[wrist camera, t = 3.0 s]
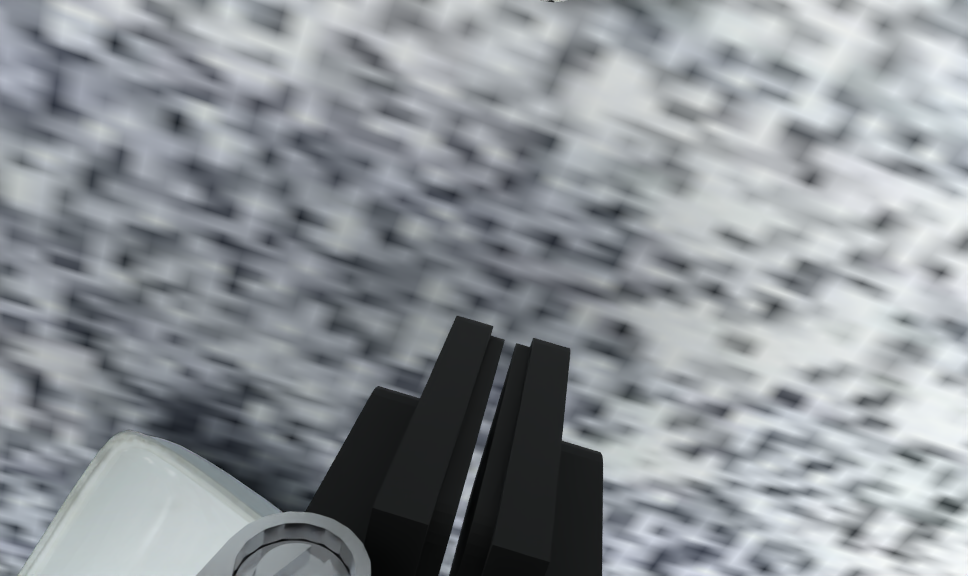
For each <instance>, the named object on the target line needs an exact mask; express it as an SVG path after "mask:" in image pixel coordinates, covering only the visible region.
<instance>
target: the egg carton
mask: <svg viewBox="0 0 968 576" xmlns="http://www.w3.org/2000/svg"><path fill="white" fill-rule="evenodd" d="M541 1H548V2H560V1H566V0H541Z"/></svg>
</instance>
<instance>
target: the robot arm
mask: <svg viewBox="0 0 968 576" xmlns="http://www.w3.org/2000/svg"><path fill="white" fill-rule="evenodd" d="M492 329H493V326H491V325H488V324H484V323H481V322H477V321H474V320H471V319H467V318H464V317H460V316H456V318H455V321H454V323H453V325H452V327H451V330H450V332H449V334H448V337H447V339H446V341H445V343H444V346H443V348H442V350H441V352H440V355H439V357H438V359H437V362H436V364H435V366H434V368H433V371H432V373H431V375H430V377H429V380H428V382H427V384H426V387H425V389H424V391H423V393H422V396H421V398H417V397H413V396H410V395H407V394H403V393H400V392H397V391H393V390H390V389H386V388H383V387H380V386H378V387H376V388H375V389H374V391H373V392H372V394H371V396H370V397H369V399H368V401H367V403H366V405H365V406H364V408H363V410H362V412H361V414H360V415H359V417H358V419H357V421H356V422H355V424H354V426H353V428H352V430H351V431H350V433H349V435H348V437H347V438H346V440H345V442H344V444H343V446H342V447H341V449H340V451H339V453H338V455H337V456H336V458H335V460H334V462H333V463H332V465H331V467H330V469H329V471H328V472H327V474H326V476H325V478H324V480H323V481H322V483H321V485H320V487H319V488H318V490H317V492H316V494H315V496H314V497H313V499H312V501H311V503H310V504H309V506H308V508H307V510H306V512H292V511H289V512H284V513H278V514H272V515H267V516H265V517H263V518H261V519H258V520H256V521H254V522H252V523H249V524H247V525H246V526H245V527H243V528H242V529H241V530H240V531H239V532H237V533H236V534H235V535H234V536H232V537H231V538H230V539H229V540H228V541H227V542H226V543H225V544H224V546H223V547H222V548H221V549H220V550H219V551H218V552H217V553H216V554H215V555H214V556H213V558H212V559H211V560H210V561H209V562H208V563H207V564H206V565H205V566H204V567H203V568H202V570H201V571H200V572H199V573H198V574H197V575H196V576H438V574H439V571H440V568H441V564H442V561H443V558H444V554H445V551H446V547H447V544H448V540H449V537H450V533H451V530H452V526H453V523H454V519H455V516H456V512H457V509H458V505H459V502H460V498H461V495H462V491H463V487H464V484H465V480H466V477H467V473H468V469H469V466H470V462H471V459H472V455H473V452H474V448H475V444H476V441H477V437H478V434H479V430H480V427H481V423H482V419H483V416H484V412H485V409H486V405H487V402H488V398H489V394H490V391H491V387H492V384H493V380H494V376H495V373H496V369H497V366H498V362H499V359H500V355H501V351H502V348H503V344H504V341H505V340H504V339H500V338H497V337H493V336H491V333H492ZM569 360H570V348H566V347H563V346H560V345H556V344H553V343H549V342H546V341H542V340H539V339H536V338H533V340H532V343H531V346H530V347H528V346H524V345H521V344H517V343H516V346H515V349H514V352H513V356H512V359H511V362H510V366H509V369H508V372H507V375H506V379H505V382H504V385H503V389H502V392H501V395H500V399H499V402H498V405H497V409H496V412H495V415H494V419H493V422H492V425H491V428H490V432H489V435H488V438H487V442H486V445H485V448H484V452H483V455H482V458H481V462H480V465H479V468H478V472H477V475H476V478H475V481H474V485H473V488H472V492H471V495H470V499H469V502H468V506H467V510H466V513H465V517H464V521H463V525H462V529H461V532H460V536H459V540H458V544H457V548H456V552H455V555H454V559H453V563H452V567H451V571H450V574H449V576H602V521H603V457H602V454H601V453H600V452H598V451H594V450H591V449H588V448H584V447H581V446H577V445H574V444H571V443H567V442H564V441H562V432H563V422H564V412H565V401H566V391H567V381H568V371H569Z"/></svg>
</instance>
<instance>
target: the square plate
mask: <svg viewBox="0 0 968 576" xmlns="http://www.w3.org/2000/svg"><path fill="white" fill-rule="evenodd" d="M278 513H283V512H282V511H281V510H279V509H278V508H277V507H275V506H274V505H273V504H271V503H270V502H269V501H267V500H266V499H264V498H263V497H262V496H260V495H259V494H257V493H256V492H254V491H253V490H251V489H250V488H249V487H247V486H246V485H244V484H243V483H241V482H240V481H238V480H237V479H236V478H234V477H233V476H231V475H230V474H228V473H227V472H225V471H224V470H222V469H220V468H219V467H217V466H216V465H214V464H213V463H211V462H209V461H208V460H206V459H204V458H203V457H201V456H199V455H197V454H196V453H194V452H192V451H190V450H188V449H186V448H184V447H183V446H181V445H178V444H176V443H173V442H170V441H168V440H165V439H162V438H158V437H153V436H148V435H145V434H142V433H140V432H137V431H132V430H127V431H123V432H120V433H118V434H116V435H114V436H113V437H112V438H111V439H110V440H109V441H108V442H107V443H106V444H105V445H104V446H103V447H102V448H101V449H100V451H99V452H98V453H97V455H96V456H95V458H94V459H93V460H92V462H91V463H90V465H89V466H88V468H87V469H86V471H85V472H84V473H83V475H82V476H81V478H80V479H79V481H78V482H77V484H76V485H75V486H74V488H73V489H72V491H71V492H70V494H69V496H68V497H67V499H66V500H65V502H64V503H63V505H62V507H61V508H60V510H59V511H58V513H57V514H56V516H55V517H54V519H53V521H52V522H51V524H50V525H49V527H48V528H47V530H46V531H45V533H44V534H43V536H42V538H41V539H40V541H39V542H38V544H37V545H36V547H35V549H34V550H33V552H32V553H31V555H30V556H29V558H28V560H27V561H26V563H25V564H24V566H23V567H22V569H21V570H20V572H19V573H18V575H17V576H196V575H197V574H198V573H199V572H200V571H201V570H202V568H203V567H204V566H205V565H206V564H207V563H208V562H209V561H210V560H211V559H212V558H213V556H214V555H215V554H216V553H217V552H218V551H219V550H220V549H221V548H222V547H223V546H224V544H225V543H226V542H227V541H228V540H229V539H230V538H231V537H232V536H234V535H235V534H236V533H237V532H239V531H240V530H241V529H242V528H243V527H245V526H246V525H247V524H249V523H252V522H254V521H256V520H258V519H261V518H263V517H265V516H267V515H272V514H278Z"/></svg>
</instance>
